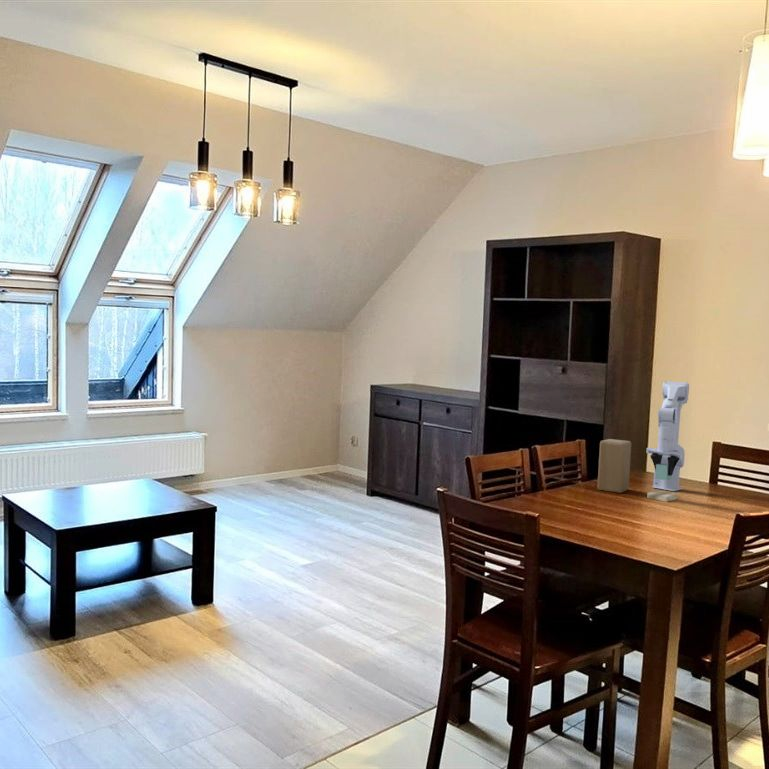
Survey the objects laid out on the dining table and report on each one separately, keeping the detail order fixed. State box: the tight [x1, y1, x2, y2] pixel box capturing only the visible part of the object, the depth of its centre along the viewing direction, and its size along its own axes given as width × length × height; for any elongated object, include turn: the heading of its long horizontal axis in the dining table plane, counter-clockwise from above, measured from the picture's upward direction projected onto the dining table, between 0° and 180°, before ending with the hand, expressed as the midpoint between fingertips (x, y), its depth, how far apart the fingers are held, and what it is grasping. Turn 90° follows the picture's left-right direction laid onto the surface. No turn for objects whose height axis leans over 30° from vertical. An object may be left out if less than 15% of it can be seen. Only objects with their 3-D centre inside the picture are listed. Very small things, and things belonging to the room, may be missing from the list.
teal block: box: [655, 463, 672, 480], centre depth 295 cm, size 4×4×6 cm
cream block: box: [646, 490, 678, 502], centre depth 296 cm, size 8×8×2 cm
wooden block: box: [597, 438, 632, 494], centre depth 308 cm, size 10×10×20 cm
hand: (663, 474), depth 295 cm, fingers closed on teal block, 4 cm apart
